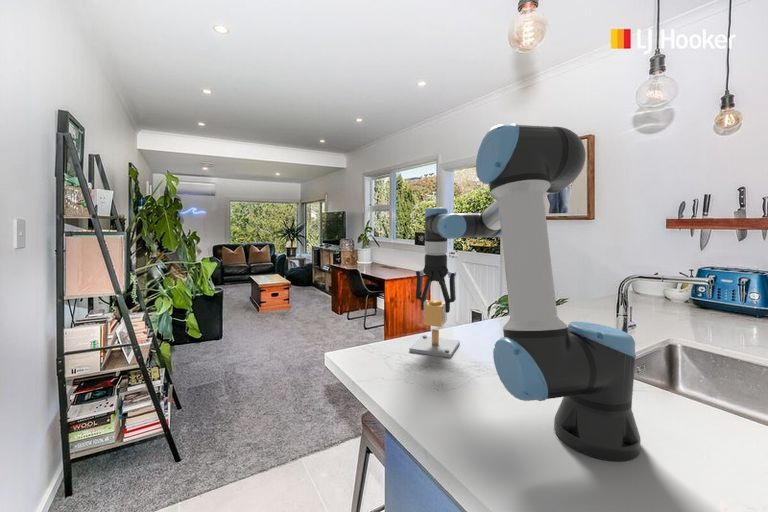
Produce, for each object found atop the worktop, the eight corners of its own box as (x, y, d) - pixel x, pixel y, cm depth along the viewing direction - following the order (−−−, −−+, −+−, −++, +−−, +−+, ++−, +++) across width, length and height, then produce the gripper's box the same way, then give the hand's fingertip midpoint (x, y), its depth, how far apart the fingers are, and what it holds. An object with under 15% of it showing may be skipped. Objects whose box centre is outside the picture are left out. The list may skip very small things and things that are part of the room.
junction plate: (450, 357, 116) (450, 339, 115) (409, 351, 121) (409, 333, 121) (459, 343, 129) (459, 327, 128) (422, 338, 134) (422, 322, 134)
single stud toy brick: (441, 327, 120) (441, 304, 120) (424, 324, 123) (424, 302, 122) (445, 322, 126) (446, 300, 125) (429, 320, 128) (429, 298, 127)
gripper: (466, 253, 121) (465, 320, 124) (412, 251, 129) (412, 314, 131) (461, 256, 114) (460, 326, 117) (405, 253, 122) (405, 320, 125)
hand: (435, 320), depth 124 cm, fingers closed on single stud toy brick, 6 cm apart
